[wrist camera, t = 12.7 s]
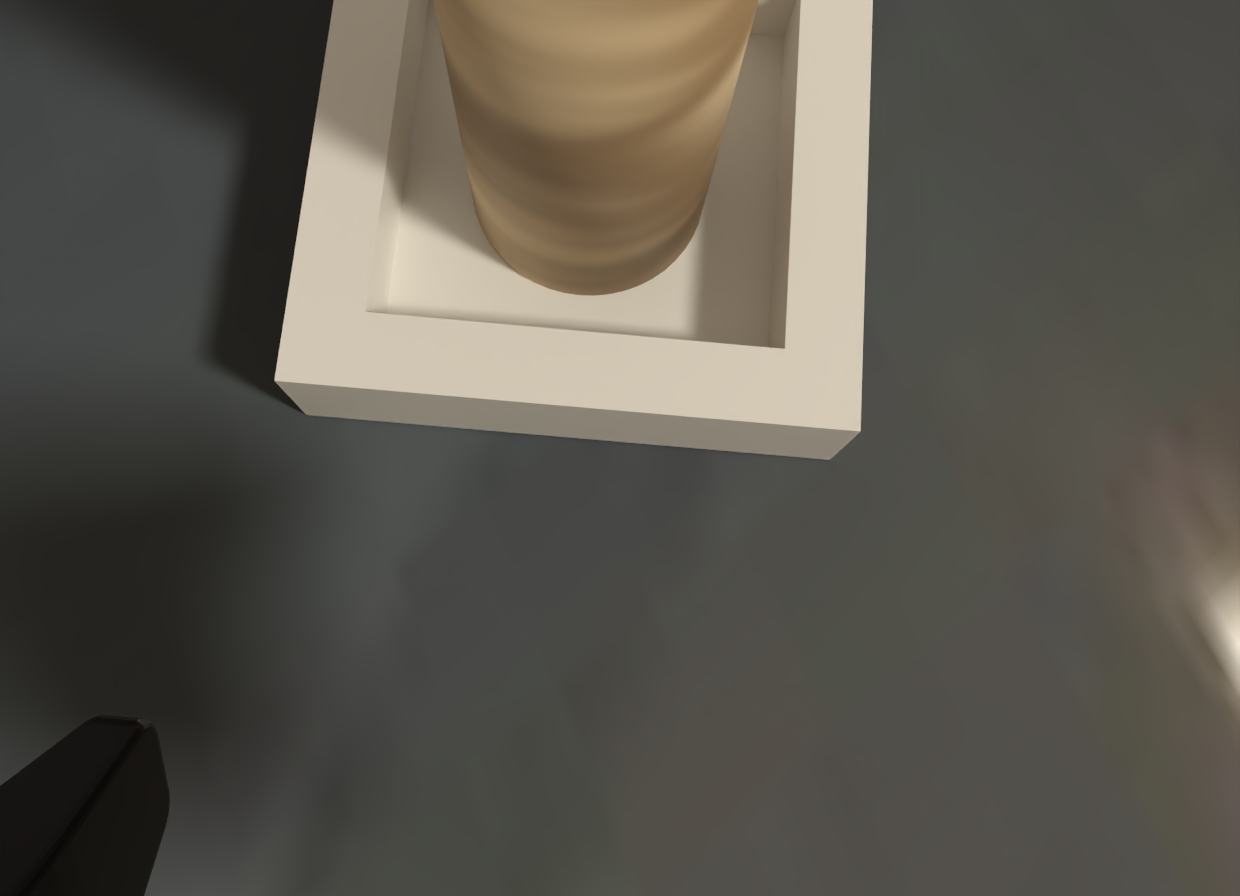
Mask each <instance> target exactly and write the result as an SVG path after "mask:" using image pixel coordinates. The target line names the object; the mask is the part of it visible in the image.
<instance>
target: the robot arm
mask: <svg viewBox="0 0 1240 896" xmlns="http://www.w3.org/2000/svg"><path fill="white" fill-rule="evenodd" d="M169 804H170V796H169V788H168V783H167V778H166V773H165V768H164V763H163V758H162V753H161V748H160V742H159V737H158V733H157V730H156V727H155V726H154V725H153V723H152V722H150V721H149V720H146V719H144V718H132V717H119V716H97V717H94V718H92V719H90V720H87V721H86V722H84V723H83V724H82V725H80V726H79V727H78V728H76V729H75V730H74V731H72V732H71V733H70V734H68V735H67V736H66V737H64V738H63V739H62V740H60V741H59V742H58V743H56V744H55V745H54V746H53V747H51V748H50V749H49V750H47V751H46V752H45V753H43V754H42V755H41V756H39V757H38V758H37V759H35V760H34V761H33V762H31V763H30V764H29V765H27V766H26V767H25V768H24V769H22V770H21V771H20V772H18V773H17V774H16V775H14V776H13V777H12V778H10V779H9V780H8V781H6V782H5V783H4V784H2V785H1V786H0V896H144V894H145V891H146V888H147V884H148V881H149V878H150V875H151V872H152V868H153V865H154V862H155V859H156V856H157V852H158V849H159V846H160V843H161V840H162V836H163V833H164V830H165V827H166V823H167V818H168V813H169Z"/></svg>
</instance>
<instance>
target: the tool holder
mask: <svg viewBox="0 0 1240 896" xmlns="http://www.w3.org/2000/svg"><path fill="white" fill-rule="evenodd" d="M872 7H873V0H759V1H758V5H757V9H756V13H755V16H754V20H753V24H752V27H751V31H750V35H749V39H748V42H747V46H746V50H745V54H744V57H743V61H742V65H741V68H740V72H739V76H738V80H737V83H736V87H735V91H734V95H733V98H732V102H731V106H730V110H729V113H728V117H727V121H726V124H725V128H724V132H723V136H722V139H721V143H720V147H719V151H718V154H717V158H716V162H715V166H714V169H713V173H712V177H711V180H710V184H709V188H708V192H707V195H706V199H705V203H704V207H703V210H702V214H701V217H700V221H699V224H698V226H697V229H696V231H695V233H694V235H693V238H692V239H691V241H690V242H689V244H688V246H687V247H686V249H685V250H684V251H683V252H682V254H681V255H680V256H679V257H678V258H677V260H676V261H675V262H673V263H672V264H671V265H670V266H669V267H668V268H667V269H666V270H665V271H663V272H662V273H660V274H659V275H657V276H656V277H654V278H653V279H651V280H649V281H647V282H645V283H643V284H641V285H639V286H637V287H634V288H631V289H628V290H626V291H622V292H617V293H613V294H606V295H595V296H591V295H575V294H568V293H562V292H559V291H555V290H552V289H548V288H546V287H544V286H541V285H539V284H536V283H534V282H532V281H531V280H529V279H527V278H526V277H524V276H522V275H521V274H519V273H518V272H517V271H515V270H514V269H513V268H511V267H510V266H509V265H508V264H507V263H506V262H505V261H504V260H503V259H502V258H501V257H500V256H499V255H498V254H497V252H496V251H495V250H494V249H493V247H492V246H491V245H490V243H489V242H488V240H487V238H486V236H485V235H484V233H483V231H482V229H481V226H480V224H479V221H478V219H477V215H476V211H475V207H474V203H473V197H472V192H471V187H470V182H469V177H468V172H467V167H466V162H465V157H464V152H463V147H462V142H461V137H460V132H459V127H458V122H457V117H456V112H455V107H454V101H453V96H452V91H451V86H450V81H449V76H448V71H447V66H446V61H445V56H444V51H443V46H442V41H441V36H440V31H439V26H438V21H437V16H436V11H435V5H434V0H334V2H333V8H332V15H331V21H330V28H329V34H328V40H327V47H326V53H325V60H324V66H323V72H322V79H321V85H320V92H319V98H318V104H317V111H316V117H315V124H314V130H313V136H312V143H311V149H310V155H309V162H308V168H307V175H306V181H305V187H304V194H303V200H302V207H301V213H300V219H299V226H298V232H297V239H296V245H295V251H294V258H293V264H292V271H291V277H290V283H289V290H288V296H287V303H286V309H285V315H284V322H283V328H282V335H281V341H280V347H279V354H278V360H277V366H276V373H275V379H274V381H275V382H276V383H277V384H278V385H279V386H280V387H281V388H282V390H283V391H284V392H285V393H286V394H287V395H288V396H289V397H290V398H291V399H292V400H293V401H294V402H295V403H296V404H297V406H298V407H299V408H300V409H301V410H302V411H303V412H304V413H305V414H306V415H314V416H325V417H337V418H349V419H360V420H372V421H384V422H395V423H407V424H419V425H430V426H442V427H454V428H465V429H477V430H489V431H500V432H512V433H524V434H535V435H547V436H559V437H570V438H582V439H594V440H605V441H617V442H629V443H640V444H652V445H663V446H675V447H687V448H698V449H710V450H722V451H733V452H745V453H757V454H768V455H780V456H792V457H803V458H815V459H827V460H830V459H831V458H832V457H833V456H834V455H836V454H837V453H838V452H839V451H840V450H841V449H842V448H843V447H844V446H845V445H846V444H847V443H849V442H850V441H851V440H852V439H853V438H854V437H855V436H856V435H857V434H858V433H859V432H860V431H861V396H862V360H863V325H864V290H865V255H866V219H867V184H868V149H869V113H870V78H871V43H872Z"/></svg>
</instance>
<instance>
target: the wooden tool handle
mask: <svg viewBox="0 0 1240 896" xmlns="http://www.w3.org/2000/svg"><path fill="white" fill-rule="evenodd" d="M758 1H759V0H434V5H435V11H436V16H437V21H438V26H439V31H440V36H441V41H442V46H443V51H444V56H445V61H446V66H447V71H448V76H449V81H450V86H451V91H452V96H453V101H454V107H455V112H456V117H457V122H458V127H459V132H460V137H461V142H462V147H463V152H464V157H465V162H466V167H467V172H468V177H469V182H470V187H471V192H472V197H473V203H474V207H475V211H476V215H477V219H478V221H479V224H480V226H481V229H482V231H483V233H484V235H485V236H486V238H487V240H488V242H489V243H490V245H491V246H492V247H493V249H494V250H495V251H496V252H497V254H498V255H499V256H500V257H501V258H502V259H503V260H504V261H505V262H506V263H507V264H508V265H509V266H510V267H511V268H513V269H514V270H515V271H517V272H518V273H519V274H521V275H522V276H524V277H526V278H527V279H529V280H531V281H532V282H534V283H536V284H539V285H541V286H544V287H546V288H548V289H552V290H555V291H559V292H562V293H568V294H575V295H591V296H595V295H606V294H613V293H617V292H622V291H626V290H628V289H631V288H634V287H637V286H639V285H641V284H643V283H645V282H647V281H649V280H651V279H653V278H654V277H656V276H657V275H659V274H660V273H662V272H663V271H665V270H666V269H667V268H668V267H669V266H670V265H671V264H672V263H673V262H675V261H676V260H677V258H678V257H679V256H680V255H681V254H682V252H683V251H684V250H685V249H686V247H687V246H688V244H689V242H690V241H691V239H692V238H693V235H694V233H695V231H696V229H697V226H698V224H699V221H700V217H701V214H702V210H703V207H704V203H705V199H706V195H707V192H708V188H709V184H710V180H711V177H712V173H713V169H714V166H715V162H716V158H717V154H718V151H719V147H720V143H721V139H722V136H723V132H724V128H725V124H726V121H727V117H728V113H729V110H730V106H731V102H732V98H733V95H734V91H735V87H736V83H737V80H738V76H739V72H740V68H741V65H742V61H743V57H744V54H745V50H746V46H747V42H748V39H749V35H750V31H751V27H752V24H753V20H754V16H755V13H756V9H757V5H758Z"/></svg>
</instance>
